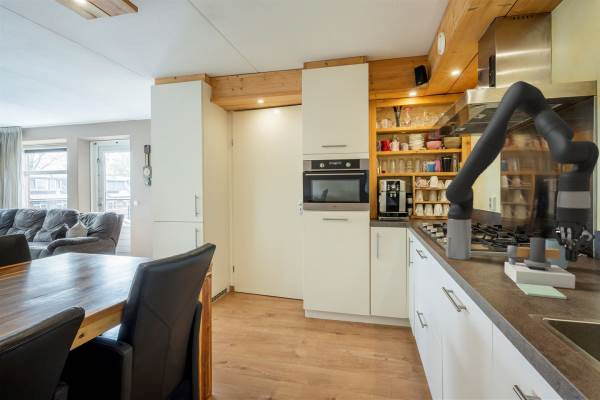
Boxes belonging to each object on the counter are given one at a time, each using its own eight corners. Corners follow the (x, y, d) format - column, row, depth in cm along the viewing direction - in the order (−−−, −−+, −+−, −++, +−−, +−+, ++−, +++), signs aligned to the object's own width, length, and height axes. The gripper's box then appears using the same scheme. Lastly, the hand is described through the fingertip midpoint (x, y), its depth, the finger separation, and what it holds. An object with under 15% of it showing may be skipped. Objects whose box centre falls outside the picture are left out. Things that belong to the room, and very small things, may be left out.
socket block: (516, 283, 93) (516, 263, 93) (504, 272, 104) (504, 255, 104) (574, 288, 88) (575, 268, 88) (555, 276, 99) (556, 258, 99)
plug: (528, 282, 94) (529, 239, 94) (520, 275, 101) (521, 236, 100) (554, 284, 92) (556, 241, 91) (544, 277, 98) (546, 237, 98)
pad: (527, 295, 83) (527, 293, 83) (516, 285, 92) (516, 283, 92) (566, 299, 80) (566, 297, 80) (551, 288, 88) (551, 286, 88)
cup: (574, 271, 105) (575, 243, 105) (547, 268, 109) (548, 241, 108) (566, 266, 112) (567, 239, 112) (541, 263, 116) (542, 238, 115)
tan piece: (508, 257, 100) (509, 246, 100) (506, 255, 103) (506, 245, 103) (560, 260, 95) (560, 249, 95) (556, 258, 98) (556, 247, 98)
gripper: (607, 207, 82) (604, 267, 83) (567, 204, 95) (565, 256, 96) (579, 207, 82) (577, 267, 83) (543, 204, 96) (541, 256, 97)
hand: (570, 261), depth 90 cm, fingers closed
